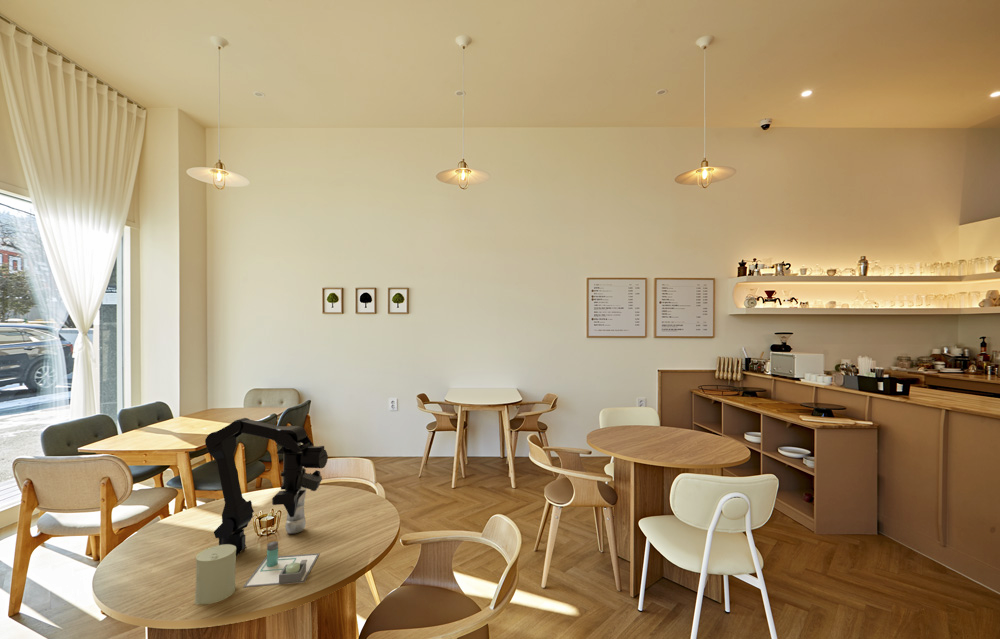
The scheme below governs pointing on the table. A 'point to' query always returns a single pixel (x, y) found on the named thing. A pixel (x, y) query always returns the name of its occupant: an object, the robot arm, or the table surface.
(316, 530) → the table surface
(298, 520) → the plastic bottle
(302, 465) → the robot arm
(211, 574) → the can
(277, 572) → the activity board
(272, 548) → the teal cylinder
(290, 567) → the key
